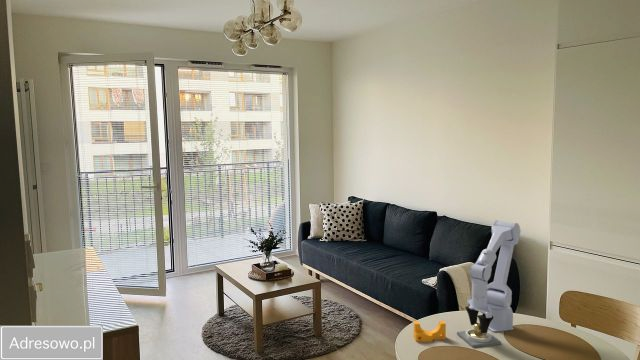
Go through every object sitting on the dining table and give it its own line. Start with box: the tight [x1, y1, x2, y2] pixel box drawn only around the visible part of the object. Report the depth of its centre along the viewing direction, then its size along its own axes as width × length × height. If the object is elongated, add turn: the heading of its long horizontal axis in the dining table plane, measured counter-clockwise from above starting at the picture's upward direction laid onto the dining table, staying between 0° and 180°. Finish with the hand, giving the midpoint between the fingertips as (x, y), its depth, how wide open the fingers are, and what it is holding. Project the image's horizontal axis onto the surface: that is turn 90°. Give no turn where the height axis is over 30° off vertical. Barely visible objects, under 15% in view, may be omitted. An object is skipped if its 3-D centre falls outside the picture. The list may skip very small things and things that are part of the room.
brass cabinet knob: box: [470, 322, 486, 338], centre depth 184 cm, size 6×6×5 cm
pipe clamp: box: [413, 320, 447, 343], centre depth 185 cm, size 12×4×6 cm, turn 90°
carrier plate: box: [456, 328, 502, 348], centre depth 185 cm, size 12×12×2 cm
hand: (478, 328), depth 184 cm, fingers open, 7 cm apart
